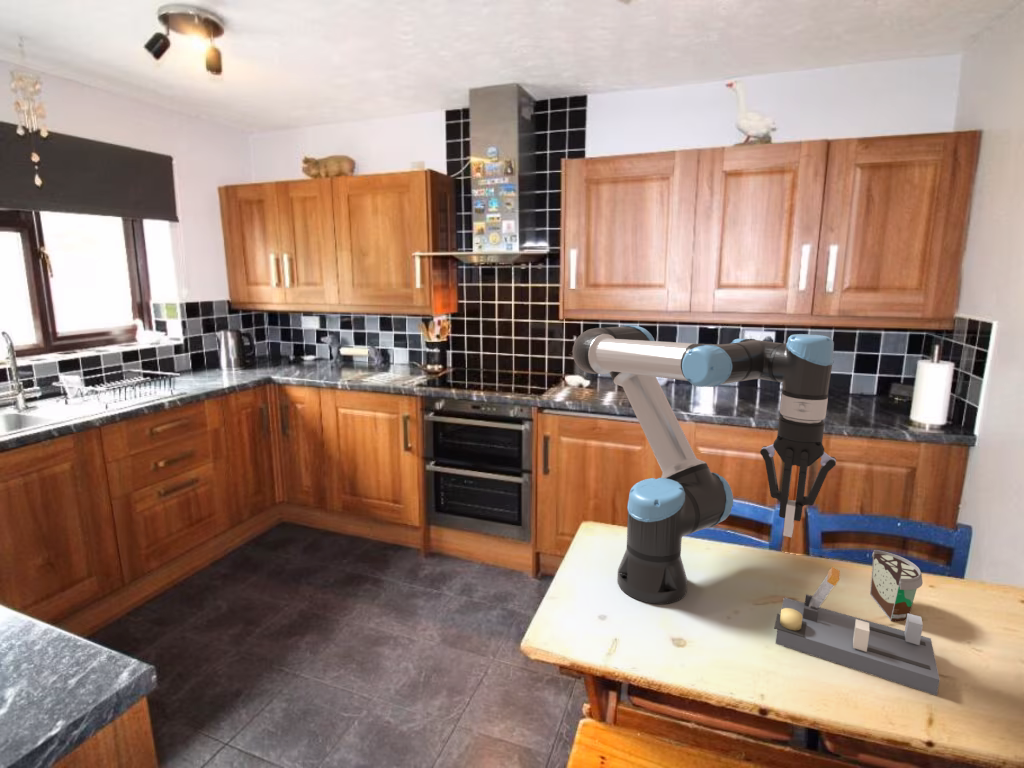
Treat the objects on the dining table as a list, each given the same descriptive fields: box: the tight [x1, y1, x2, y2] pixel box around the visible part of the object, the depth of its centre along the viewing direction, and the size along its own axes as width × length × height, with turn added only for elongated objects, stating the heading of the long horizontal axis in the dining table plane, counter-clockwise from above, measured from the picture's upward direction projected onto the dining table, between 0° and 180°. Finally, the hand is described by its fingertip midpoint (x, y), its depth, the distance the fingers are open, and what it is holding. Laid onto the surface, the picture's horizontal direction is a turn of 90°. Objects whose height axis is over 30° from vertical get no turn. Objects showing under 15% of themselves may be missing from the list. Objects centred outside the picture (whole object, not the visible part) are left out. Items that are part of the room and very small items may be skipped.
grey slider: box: [904, 613, 924, 645], centre depth 96 cm, size 2×3×4 cm
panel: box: [774, 593, 941, 696], centre depth 98 cm, size 24×12×5 cm, turn 58°
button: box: [780, 608, 803, 631], centre depth 100 cm, size 4×4×2 cm
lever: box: [808, 566, 841, 610], centre depth 102 cm, size 1×4×10 cm, turn 148°
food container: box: [869, 549, 923, 623], centre depth 109 cm, size 12×6×10 cm, turn 168°
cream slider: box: [853, 619, 870, 652], centre depth 94 cm, size 2×3×4 cm
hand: (787, 533), depth 104 cm, fingers closed
